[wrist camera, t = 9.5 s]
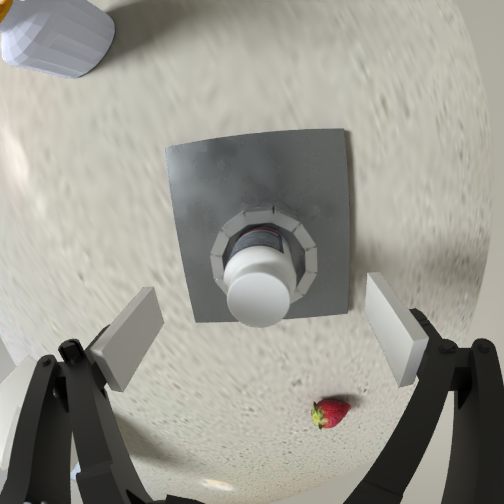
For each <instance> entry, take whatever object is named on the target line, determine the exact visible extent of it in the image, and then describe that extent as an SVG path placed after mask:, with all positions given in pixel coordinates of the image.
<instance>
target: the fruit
mask: <svg viewBox="0 0 504 504" xmlns="http://www.w3.org/2000/svg"><path fill="white" fill-rule="evenodd" d="M350 407H351V406H350V404H348V403H346V402H340V401H335V400H327V399H326V400H322V401H320V402H318V403H317V404H316V403H315V402H314V404H313V408H312V410H311V412H312V413H311V416H312V421H313V424H314V425H315V426H319V429H320V430H321V429H322V428H332V427H334V426H336V425H337V424H338V423H339V422H340V421H341V420H342V419H343V418H344V417H345V416H346V414H347V412H348V410H349V408H350Z"/></svg>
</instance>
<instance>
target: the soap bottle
mask: <svg viewBox="0 0 504 504" xmlns="http://www.w3.org/2000/svg"><path fill="white" fill-rule="evenodd" d="M0 33H2V40H1V52H2V58H3V59H4V60H5V61H6V62H7V63H8V64H10V65H11V66H14V67H19V68H24V69H29V70H34V71H38V72H43V73H47V74H51V75H55V76H59V77H63V78H77V77H79V76H81V75H83V74H86V73H87V72H88V71H89V70H91V69H92V68H93V67H95V66H96V65H97V64H98V62H99V61H100V60H101V59H102V58H103V57H104V55H105V54H106V52H107V50H108V49H109V47H110V45H111V44H112V40H113V37H114V34H115V26H114V21H113V20H112V19H111V17H110V16H109V15H107V14H106V13H105V12H103V11H102V10H100V9H99V8H97V7H96V6H94V5H93V4H91V3H90V2H88V1H87V0H25V1H20V0H3V1H2V2H1V3H0Z"/></svg>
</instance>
